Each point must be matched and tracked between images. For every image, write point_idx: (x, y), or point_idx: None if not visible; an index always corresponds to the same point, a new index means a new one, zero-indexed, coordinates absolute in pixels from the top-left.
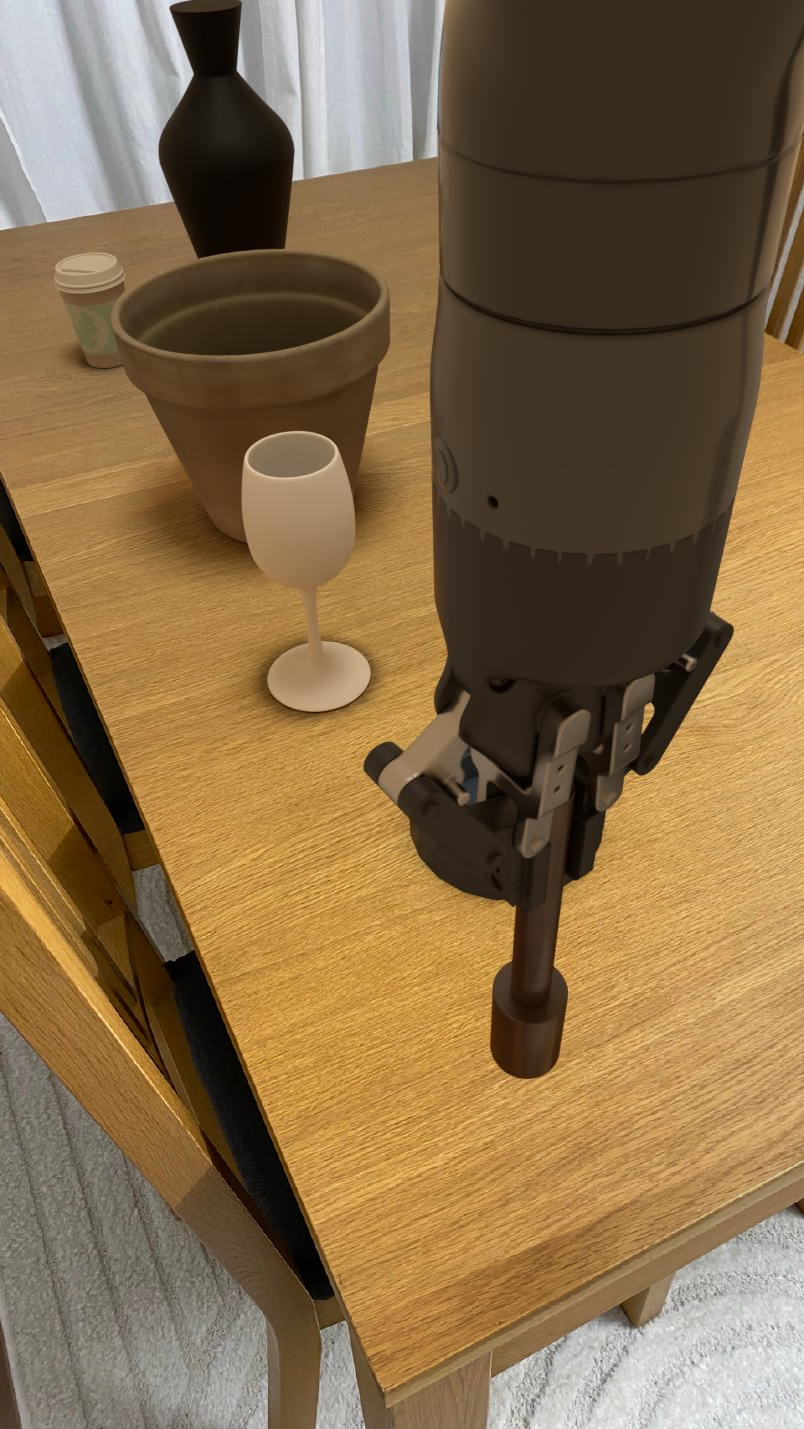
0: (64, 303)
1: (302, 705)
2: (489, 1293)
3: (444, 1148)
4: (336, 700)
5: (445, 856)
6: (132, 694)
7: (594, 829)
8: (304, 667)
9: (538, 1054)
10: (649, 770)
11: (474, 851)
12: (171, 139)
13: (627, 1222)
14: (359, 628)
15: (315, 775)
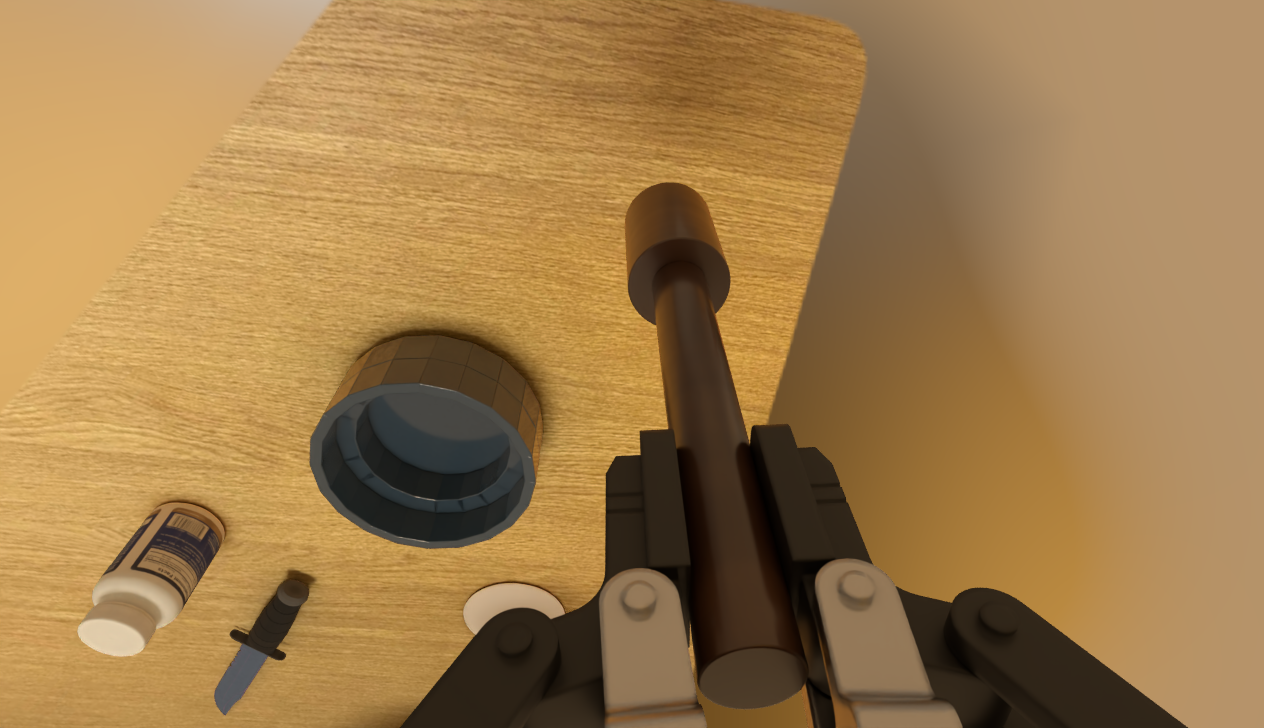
0: None
1: (547, 598)
2: (753, 35)
3: (699, 178)
4: (516, 590)
5: (531, 424)
6: None
7: (660, 528)
8: None
9: (690, 207)
10: (514, 613)
11: (1098, 687)
12: None
13: (590, 5)
14: (449, 640)
15: (577, 536)
